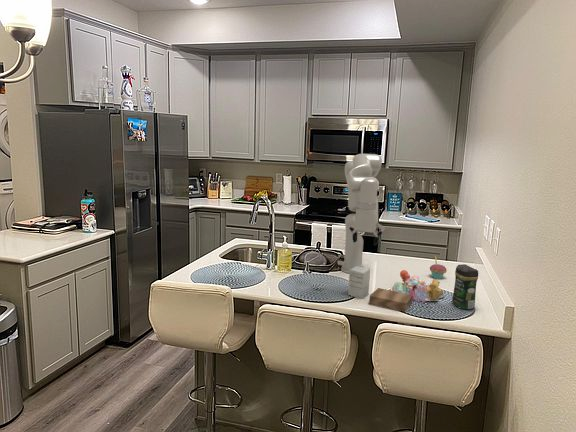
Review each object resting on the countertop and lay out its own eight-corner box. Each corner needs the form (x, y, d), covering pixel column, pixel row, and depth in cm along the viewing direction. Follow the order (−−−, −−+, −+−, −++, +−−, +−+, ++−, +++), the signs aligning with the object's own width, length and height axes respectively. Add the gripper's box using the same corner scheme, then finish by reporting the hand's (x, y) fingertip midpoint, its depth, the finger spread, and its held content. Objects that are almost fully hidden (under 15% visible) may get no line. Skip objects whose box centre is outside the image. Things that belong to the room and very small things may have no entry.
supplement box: (354, 291, 211) (356, 265, 208) (368, 294, 207) (370, 268, 204) (347, 295, 205) (349, 269, 202) (361, 299, 201) (363, 272, 198)
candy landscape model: (446, 291, 217) (448, 273, 215) (441, 307, 195) (443, 287, 194) (394, 282, 226) (396, 265, 225) (385, 297, 205) (386, 278, 204)
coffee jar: (448, 302, 200) (452, 263, 197) (463, 301, 202) (468, 262, 199) (461, 311, 191) (466, 269, 188) (477, 309, 193) (482, 269, 190)
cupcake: (428, 278, 234) (430, 256, 232) (429, 273, 242) (431, 252, 239) (445, 280, 231) (447, 258, 229) (446, 276, 239) (448, 254, 236)
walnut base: (368, 304, 195) (369, 295, 194) (377, 296, 205) (378, 287, 204) (405, 312, 187) (405, 303, 187) (412, 303, 198) (412, 295, 197)
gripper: (346, 205, 199) (344, 242, 202) (383, 209, 191) (380, 248, 194) (352, 203, 206) (350, 239, 209) (388, 207, 197) (386, 244, 201)
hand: (365, 243), depth 201 cm, fingers open, 9 cm apart
